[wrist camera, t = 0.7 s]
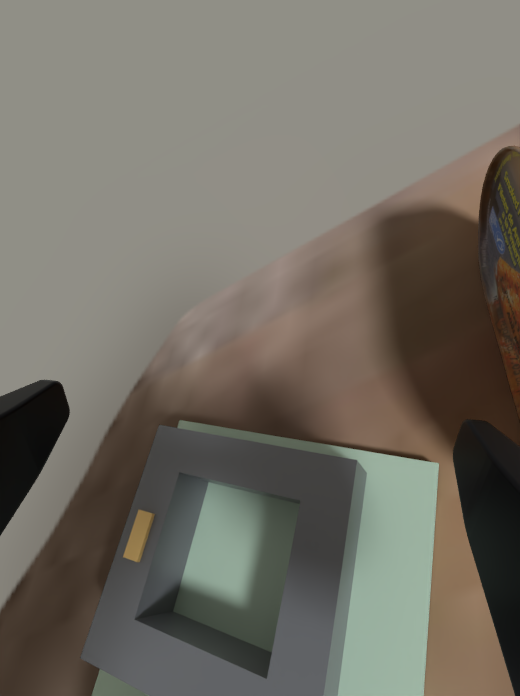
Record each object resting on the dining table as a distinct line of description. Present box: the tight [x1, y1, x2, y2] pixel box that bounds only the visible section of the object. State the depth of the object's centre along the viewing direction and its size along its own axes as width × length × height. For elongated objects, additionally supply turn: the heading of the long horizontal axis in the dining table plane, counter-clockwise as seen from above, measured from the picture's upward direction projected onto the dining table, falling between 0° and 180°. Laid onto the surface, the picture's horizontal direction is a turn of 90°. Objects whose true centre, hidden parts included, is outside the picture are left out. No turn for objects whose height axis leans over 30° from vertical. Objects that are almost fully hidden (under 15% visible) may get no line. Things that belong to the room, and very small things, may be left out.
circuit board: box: [92, 420, 439, 696], centre depth 18 cm, size 18×14×1 cm
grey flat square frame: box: [80, 425, 367, 696], centre depth 17 cm, size 10×10×3 cm
